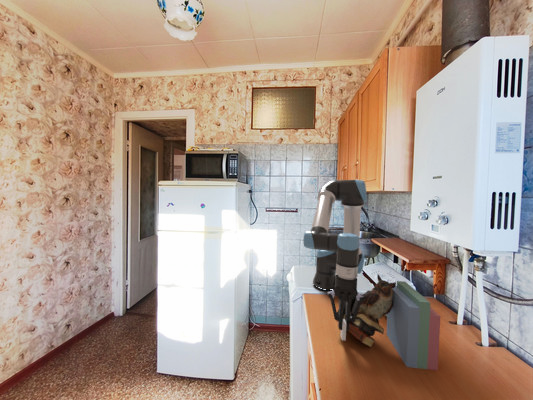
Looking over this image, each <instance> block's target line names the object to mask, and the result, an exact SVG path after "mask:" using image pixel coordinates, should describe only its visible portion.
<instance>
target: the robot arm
mask: <svg viewBox="0 0 533 400" xmlns="http://www.w3.org/2000/svg"><path fill="white" fill-rule="evenodd" d="M336 201H338V202H340V203H341V205H342V206H343V231H342V233H331V232H329V230H330V229H329V227H330V222H331V218H332V217H331V216H332V211H333V205H334V203H335V202H336ZM367 202H368V195H367V186H366V182H365V180H362V179H334V180H330V181H329V182H327V183H325V184H324V185H323V186H322V187H321V188H320V189H319V191H318V193H317V205H316V208H315V213H314V217H313V221H312V225H311V228H310V230H306V231H305V232H304V234H303V241H302V243H303V246H304V248H305V249H310V250H316V257H315V258H316V264H315V265H316V266H315V274H314V277H313V279H312V285H313V284H314V285H315V286H317V287H320V288H322V289H326V290H330V289H333V291H327V296H328V298H329V300H330V305H331V308H332V315H333V319H334V318H335V319H334V320H335V321H336V320H338V322H337V326H338V330H339V331H340V338H341V341H346V340H347V338H346V337H347V332H349V324H350V322H355V320H356V317H357V314H358V311H359V308H360V305H361V303H362V302H363V301H364V298H363V296H362V295H363V294H360V293H359V292H358V278H357V277H358V274H359V275H360V274H362V272H363V269H364V265H365V264H364V263H365V254H364V253H363V251H362V249H361V247H360V245H361V244H360V234H361V233H360V232H361V231H360V230H361V213H362V212H361V211H362V209H361V208H362V207H363V206H365V203H367ZM314 285H313V286H314ZM315 286H314V287H315ZM335 296H336V297H337V299H338V309H339V315H337V311H338V310H337V307H336V302H335V299H334V298H335ZM355 297H356V300H355V303H354V306H353V309H352V312H351V315H350V311H351V301H352V300H353V299H354V298H355ZM344 301H346V310H345V319H343V309H344Z"/></svg>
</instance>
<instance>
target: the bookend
mask: <svg viewBox="0 0 533 400" xmlns="http://www.w3.org/2000/svg"><path fill="white" fill-rule="evenodd" d="M377 281H378V282H377V283H376V284H375V285H374V287H373V288H372V289H371V290H367V291H366V292H364V293H363V294H361V295H362V296H363V298H364V301H363V302H362V303H361V305H360V308H359V311H358V314H357V317H356V320H355V322H350V324H349V331H348V332H349V333H350V334H352V335H353V336H354V337H355V338H356V339H357V340H359V341H360V342H361V344H362V343H363V344H364V345H366V346H368V347H369V348H372V347H373V344H374V342H375V341H376V340H375V338H373V336H374V335H375V334H376V332H378V333H380V334H382V335H384V333H385V329H384V327H383V326H382V325H380V320H381V319H382V317H383V316H386V314H388V313H389V312H390V311H391V309H392V307H393V301H392V297H393V296H392V295H393V290H392V288H394V287H395V286H397V281H396V282H389V281H386V280H383V279H382V278H381V275H380V274H377ZM355 300H356V297H355V298H354V299H353V300H352V301H351V311H350V315H351V312H352V309H353V306H354V303H355ZM345 310H346V301H344V309H343V319H345ZM336 311H337V315H339V308H338V309H337V310H336ZM333 319H334V320H335V318H334V317H333ZM335 321H336V322H337V323H338V320H335Z"/></svg>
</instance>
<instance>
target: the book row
mask: <svg viewBox="0 0 533 400" xmlns="http://www.w3.org/2000/svg"><path fill="white" fill-rule="evenodd" d="M392 290H393V295H392V296H393V297H392V301H393V307H392V309H391V311H390V312H389V313H388V314H387V317H386V336H387V337H388V339H389V340H390V341H389V342H390V343H391V344H392V346H393V348H394V349H395V350H396V352H397V354H398V355H399V357H400V359H401V360H402V362H403V363H404V366H405V367H406V368H412V369H413V368H414V369H423V370H429V371H430V370H432V371H438V370H439V353H440V352H439V350H440V335H441V333H440V331H441V315H440V314H438V312H436V311H435V310H434V309H433V308H432V307H431V301H429V300H428V299H427V298H426V297H425V296H424V295H422V294H421V293H419V292H418V291H417V290H416V289H415V288H413V287H412V286H411V285H410V284H409V283H407V282H406V281H402V280H397V281H396V286H395V287H394V288H392Z"/></svg>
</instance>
